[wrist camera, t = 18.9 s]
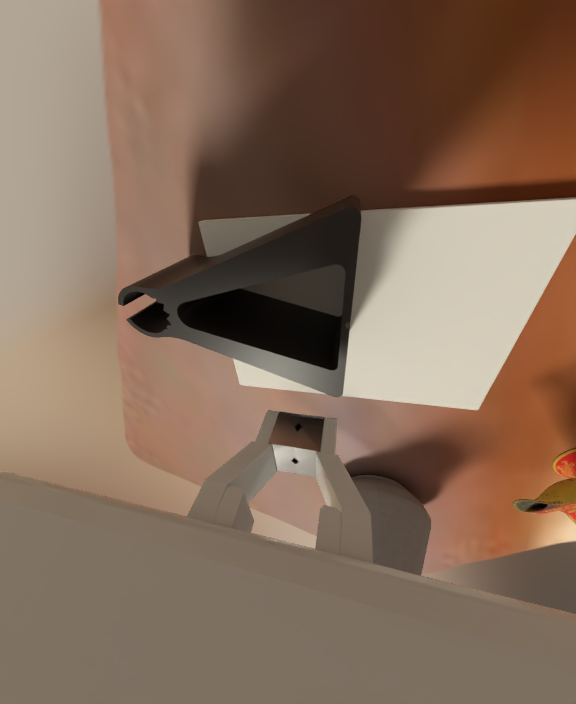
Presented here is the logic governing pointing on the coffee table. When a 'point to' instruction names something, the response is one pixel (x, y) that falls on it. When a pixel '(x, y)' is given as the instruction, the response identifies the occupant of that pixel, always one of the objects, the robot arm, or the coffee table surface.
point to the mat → (423, 294)
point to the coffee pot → (395, 523)
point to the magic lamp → (556, 490)
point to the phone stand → (261, 300)
